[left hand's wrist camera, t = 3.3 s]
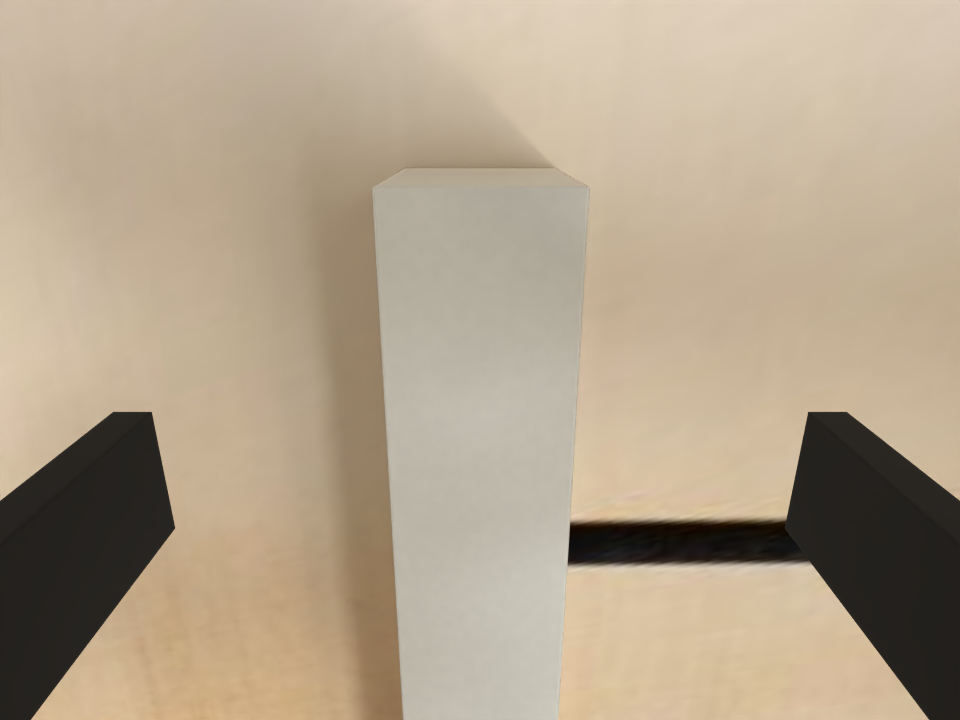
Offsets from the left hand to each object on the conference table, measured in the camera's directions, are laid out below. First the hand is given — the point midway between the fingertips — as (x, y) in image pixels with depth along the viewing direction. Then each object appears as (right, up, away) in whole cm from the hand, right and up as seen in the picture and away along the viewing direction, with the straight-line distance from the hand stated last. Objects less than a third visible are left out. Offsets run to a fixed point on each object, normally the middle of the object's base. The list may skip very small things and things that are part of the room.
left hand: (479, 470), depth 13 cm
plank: (0, -15, +20) cm, 25 cm away
